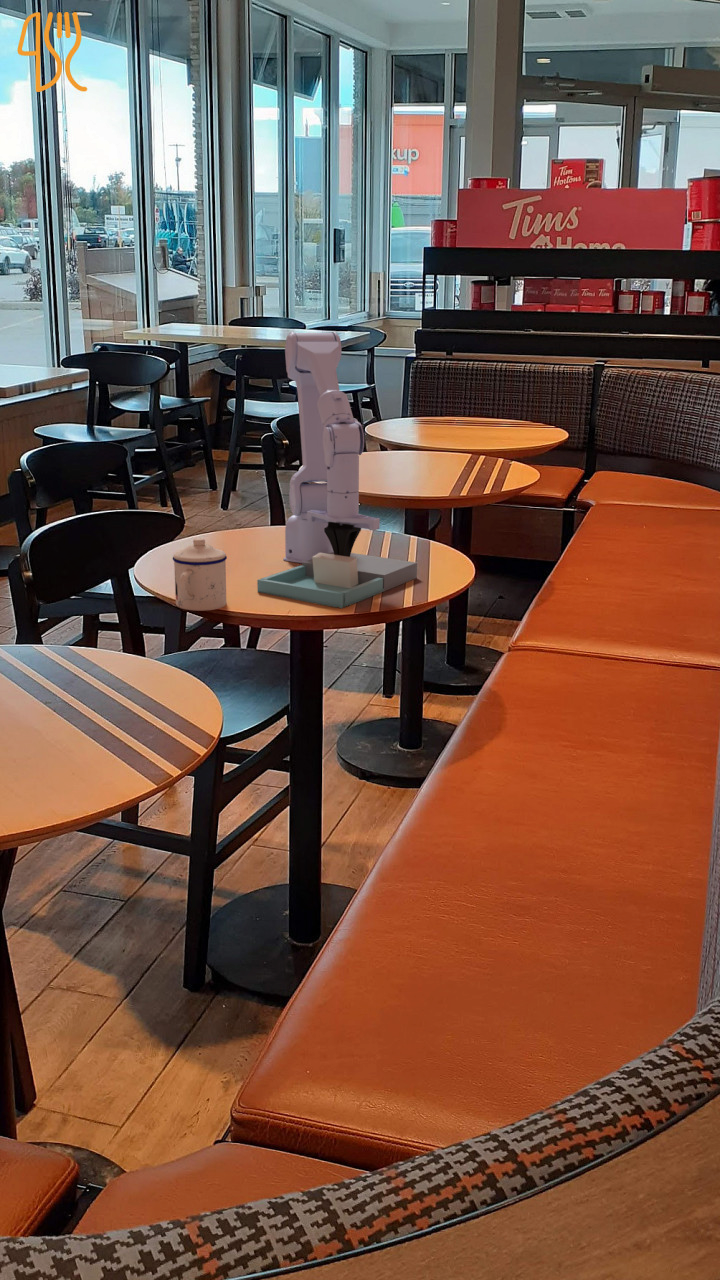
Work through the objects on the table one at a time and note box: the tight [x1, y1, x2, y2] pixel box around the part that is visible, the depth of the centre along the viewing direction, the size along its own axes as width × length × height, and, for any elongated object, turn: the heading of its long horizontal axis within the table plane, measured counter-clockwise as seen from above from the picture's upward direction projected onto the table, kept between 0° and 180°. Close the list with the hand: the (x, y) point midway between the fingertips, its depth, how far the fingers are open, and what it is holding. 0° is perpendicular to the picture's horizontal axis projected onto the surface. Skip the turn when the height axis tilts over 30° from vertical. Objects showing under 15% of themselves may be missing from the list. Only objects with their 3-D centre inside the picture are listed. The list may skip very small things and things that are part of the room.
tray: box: [256, 565, 385, 609], centre depth 205 cm, size 18×14×2 cm
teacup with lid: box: [172, 537, 228, 612], centre depth 193 cm, size 12×9×12 cm
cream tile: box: [312, 553, 358, 588], centre depth 208 cm, size 8×5×2 cm
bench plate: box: [301, 552, 418, 592], centre depth 215 cm, size 18×12×3 cm, turn 58°
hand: (342, 564), depth 210 cm, fingers closed, pressing on cream tile
